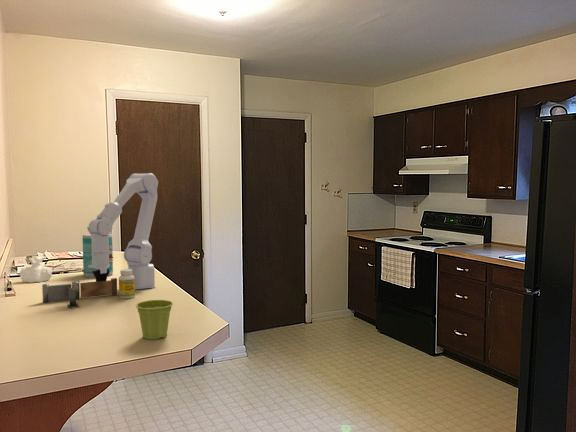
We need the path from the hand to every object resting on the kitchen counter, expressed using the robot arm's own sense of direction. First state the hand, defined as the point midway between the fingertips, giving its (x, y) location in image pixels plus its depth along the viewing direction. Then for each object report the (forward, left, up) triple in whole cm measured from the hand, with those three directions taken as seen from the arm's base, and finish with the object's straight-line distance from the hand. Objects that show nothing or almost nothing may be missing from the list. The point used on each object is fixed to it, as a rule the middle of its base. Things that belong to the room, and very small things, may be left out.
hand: (101, 290), depth 171 cm
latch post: (+11, +13, -2) cm, 17 cm away
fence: (+13, +2, -2) cm, 13 cm away
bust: (+20, -39, -2) cm, 44 cm away
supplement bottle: (-8, +7, -2) cm, 10 cm away
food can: (-4, -41, -2) cm, 42 cm away
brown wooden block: (+1, +2, -2) cm, 3 cm away
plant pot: (-5, +56, -2) cm, 56 cm away
